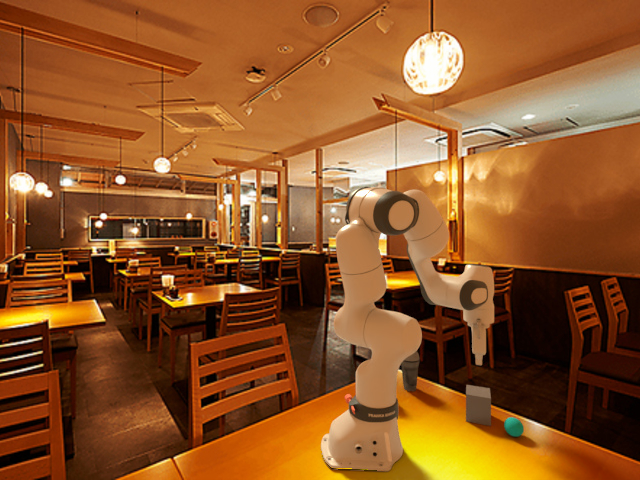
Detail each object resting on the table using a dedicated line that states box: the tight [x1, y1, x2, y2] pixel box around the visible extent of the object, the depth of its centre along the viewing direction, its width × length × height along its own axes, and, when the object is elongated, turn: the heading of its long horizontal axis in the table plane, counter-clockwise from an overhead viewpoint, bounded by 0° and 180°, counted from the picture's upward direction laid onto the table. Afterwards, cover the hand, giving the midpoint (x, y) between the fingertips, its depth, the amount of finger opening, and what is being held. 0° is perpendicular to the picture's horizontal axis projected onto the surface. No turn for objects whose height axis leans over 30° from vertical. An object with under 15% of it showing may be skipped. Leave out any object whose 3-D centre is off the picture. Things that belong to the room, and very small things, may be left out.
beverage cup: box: [400, 350, 421, 392], centre depth 130 cm, size 7×7×20 cm
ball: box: [503, 416, 524, 438], centre depth 101 cm, size 5×5×5 cm
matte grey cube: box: [465, 384, 492, 427], centre depth 110 cm, size 7×7×9 cm
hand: (478, 358), depth 110 cm, fingers open, 8 cm apart
